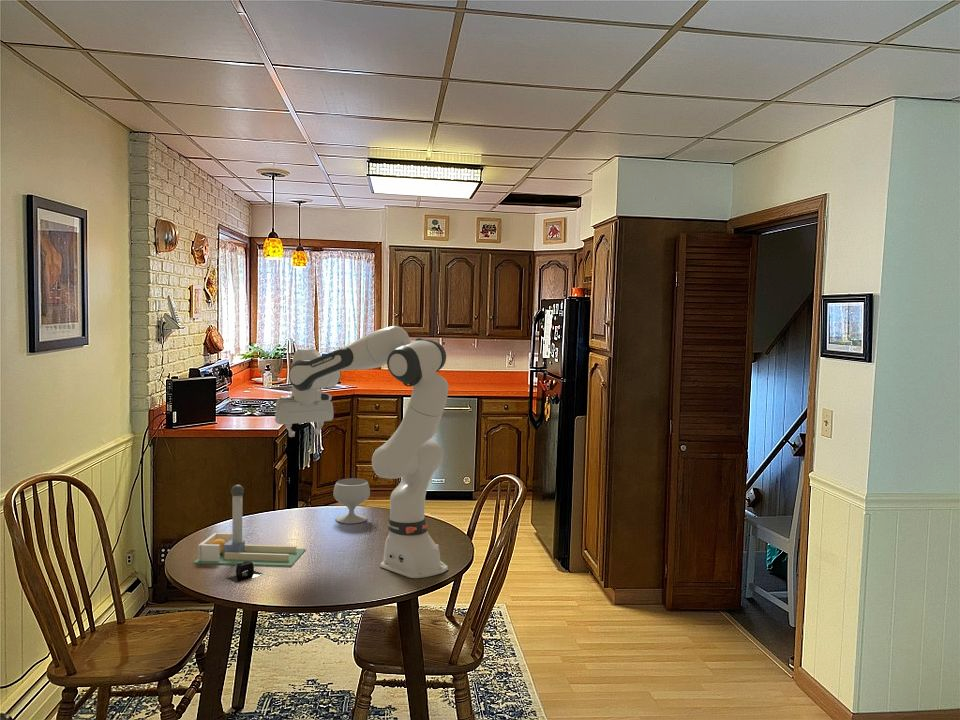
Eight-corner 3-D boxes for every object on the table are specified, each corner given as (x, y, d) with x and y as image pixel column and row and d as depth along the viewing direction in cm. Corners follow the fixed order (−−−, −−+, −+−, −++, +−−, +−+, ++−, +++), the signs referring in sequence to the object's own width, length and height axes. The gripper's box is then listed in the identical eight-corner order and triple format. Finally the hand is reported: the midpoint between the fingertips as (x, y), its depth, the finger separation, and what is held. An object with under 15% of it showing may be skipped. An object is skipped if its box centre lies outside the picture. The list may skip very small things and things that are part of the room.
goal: (298, 550, 236) (298, 535, 235) (286, 563, 223) (286, 547, 222) (214, 547, 236) (214, 532, 236) (198, 560, 223) (198, 545, 223)
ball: (208, 554, 230) (222, 559, 229) (207, 546, 226) (222, 551, 226) (215, 541, 233) (229, 546, 233) (214, 533, 230) (229, 538, 230)
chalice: (372, 524, 269) (372, 485, 268) (334, 526, 265) (335, 486, 264) (367, 514, 282) (367, 477, 282) (331, 516, 278) (332, 478, 278)
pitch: (305, 550, 237) (305, 548, 237) (291, 566, 221) (291, 565, 221) (213, 547, 238) (213, 545, 238) (193, 563, 222) (193, 562, 222)
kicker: (246, 551, 232) (246, 483, 231) (240, 556, 227) (240, 486, 226) (229, 550, 232) (229, 482, 231) (223, 555, 227) (223, 486, 226)
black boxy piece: (256, 569, 219) (256, 555, 219) (270, 575, 215) (270, 560, 215) (219, 580, 210) (219, 565, 210) (233, 587, 205) (233, 571, 205)
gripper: (279, 398, 235) (279, 439, 236) (335, 395, 248) (335, 434, 248) (272, 396, 240) (272, 436, 241) (327, 393, 252) (327, 431, 253)
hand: (304, 435), depth 245 cm, fingers open, 8 cm apart
